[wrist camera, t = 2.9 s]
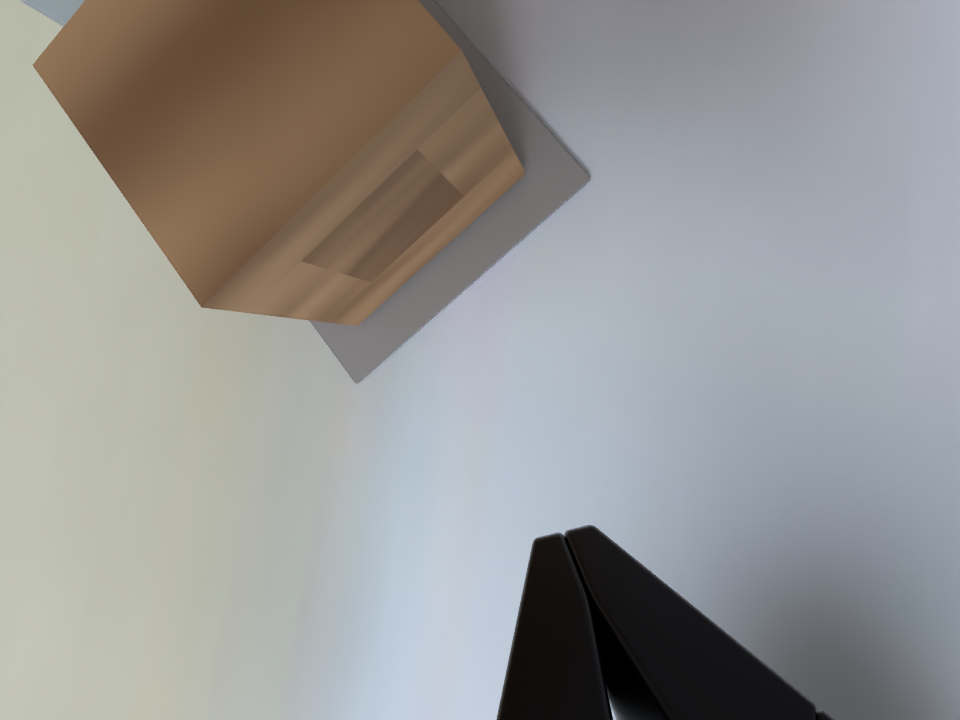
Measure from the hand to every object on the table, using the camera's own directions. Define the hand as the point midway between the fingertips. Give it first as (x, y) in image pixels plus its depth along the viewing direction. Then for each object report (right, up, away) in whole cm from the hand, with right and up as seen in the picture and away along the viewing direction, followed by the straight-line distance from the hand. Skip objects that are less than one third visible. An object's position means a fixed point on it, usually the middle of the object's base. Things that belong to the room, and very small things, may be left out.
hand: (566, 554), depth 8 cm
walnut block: (-5, +10, +13) cm, 17 cm away
